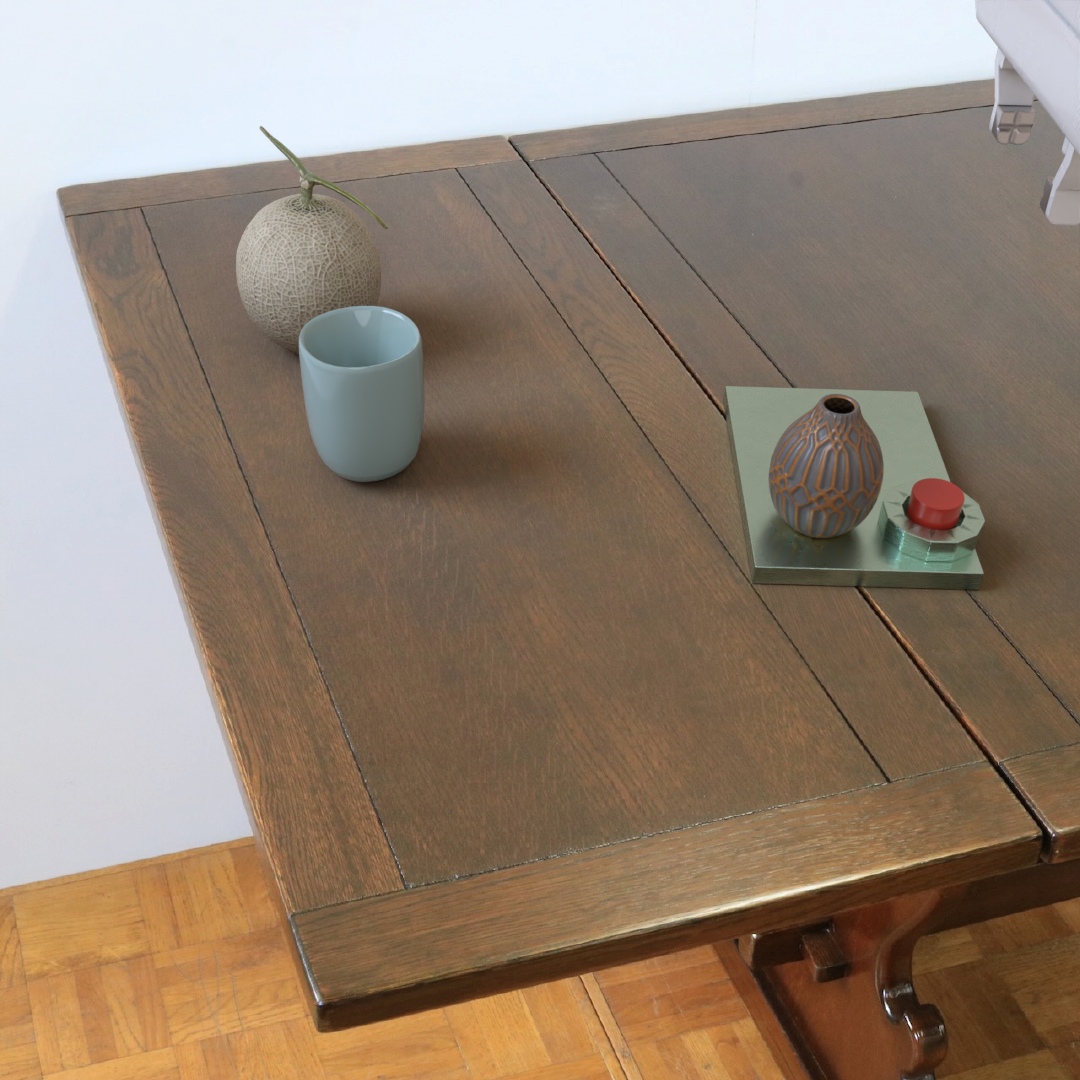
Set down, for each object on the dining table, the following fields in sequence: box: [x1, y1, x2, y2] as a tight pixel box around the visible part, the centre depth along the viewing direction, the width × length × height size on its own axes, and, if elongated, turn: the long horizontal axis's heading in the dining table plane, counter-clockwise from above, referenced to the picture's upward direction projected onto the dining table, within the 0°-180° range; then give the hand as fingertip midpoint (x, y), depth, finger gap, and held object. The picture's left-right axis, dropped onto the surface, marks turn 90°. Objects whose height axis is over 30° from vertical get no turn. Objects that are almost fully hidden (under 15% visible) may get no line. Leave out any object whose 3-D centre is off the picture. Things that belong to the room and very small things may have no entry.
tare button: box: [907, 478, 965, 530], centre depth 82 cm, size 3×3×2 cm
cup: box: [298, 305, 425, 483], centre depth 87 cm, size 8×8×10 cm
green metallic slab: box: [722, 385, 986, 591], centre depth 88 cm, size 20×14×3 cm
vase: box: [768, 394, 884, 538], centre depth 82 cm, size 7×7×9 cm
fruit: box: [235, 125, 389, 354], centre depth 97 cm, size 10×12×15 cm
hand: (1032, 177), depth 67 cm, fingers open, 8 cm apart
